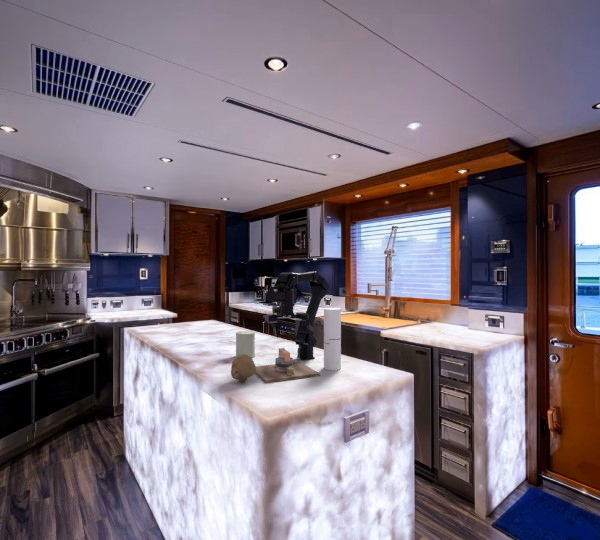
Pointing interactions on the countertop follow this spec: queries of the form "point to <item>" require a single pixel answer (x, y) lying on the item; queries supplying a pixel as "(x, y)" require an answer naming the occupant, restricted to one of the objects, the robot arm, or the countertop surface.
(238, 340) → the can
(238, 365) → the natural sponge
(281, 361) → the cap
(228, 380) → the countertop surface
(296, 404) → the countertop surface
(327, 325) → the cylindrical container
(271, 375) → the post board
